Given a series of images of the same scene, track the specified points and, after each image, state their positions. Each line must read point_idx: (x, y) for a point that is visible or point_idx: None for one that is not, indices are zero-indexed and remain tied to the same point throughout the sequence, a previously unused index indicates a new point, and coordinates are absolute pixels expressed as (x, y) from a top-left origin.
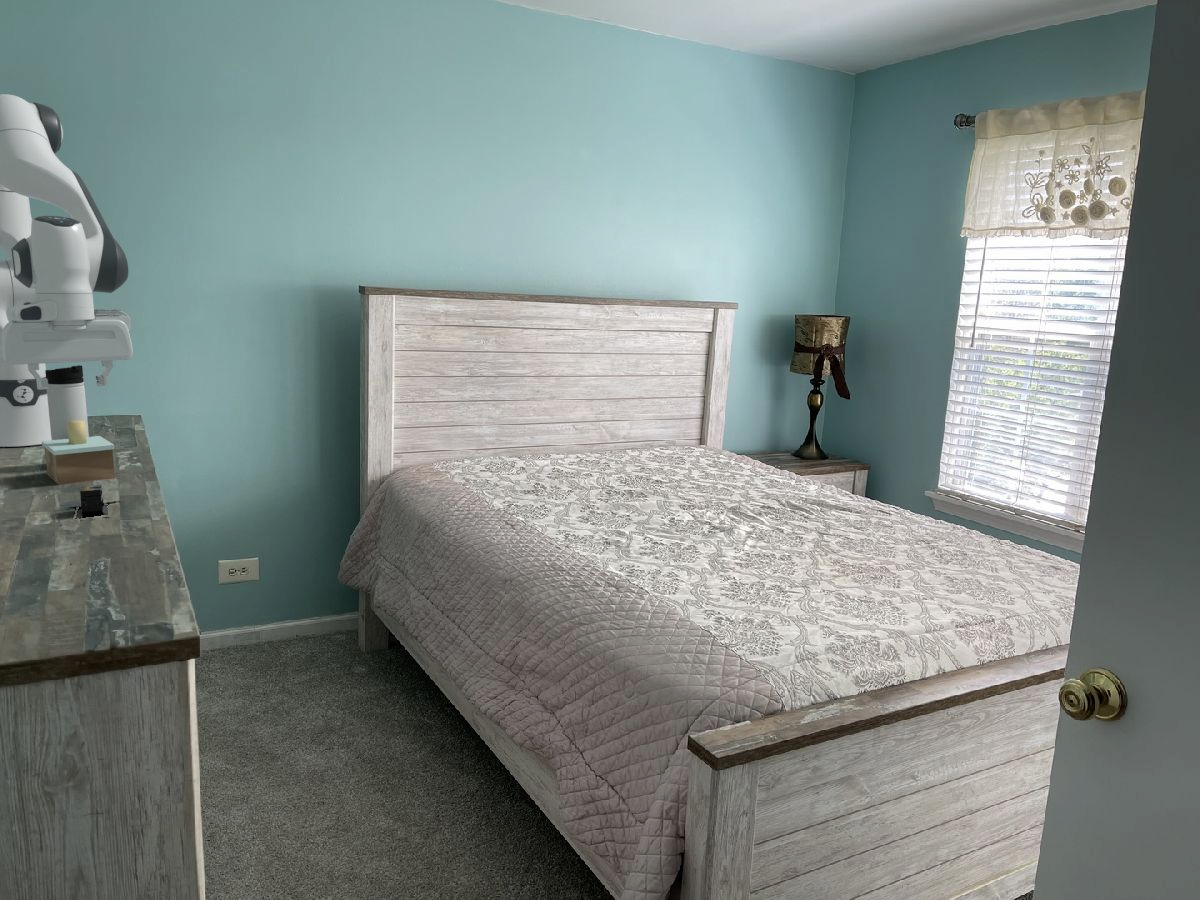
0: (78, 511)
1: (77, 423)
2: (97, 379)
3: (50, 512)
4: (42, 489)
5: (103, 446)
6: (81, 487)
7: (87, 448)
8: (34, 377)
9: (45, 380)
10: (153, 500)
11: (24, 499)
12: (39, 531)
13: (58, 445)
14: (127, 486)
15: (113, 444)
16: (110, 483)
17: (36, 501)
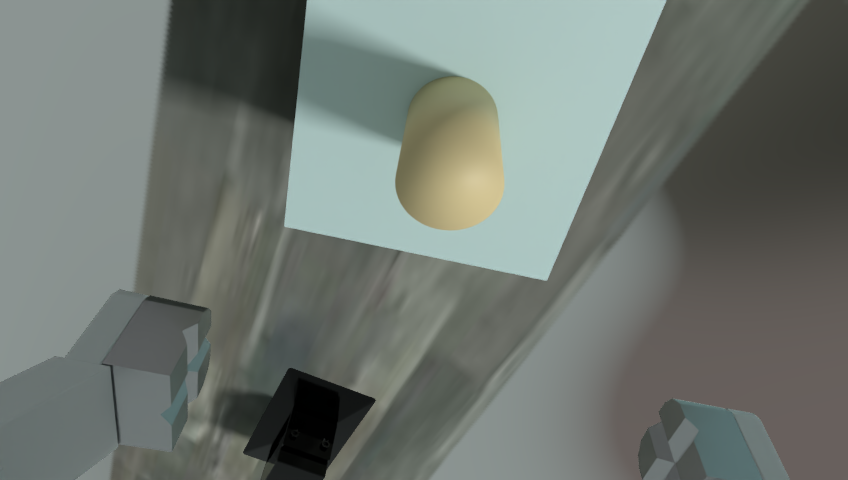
0: (275, 415)
1: (436, 224)
2: (679, 469)
3: (221, 374)
4: (273, 113)
5: (499, 268)
6: (272, 470)
7: (429, 253)
8: (34, 375)
9: (153, 438)
10: (462, 434)
11: (189, 209)
12: (168, 469)
13: (346, 116)
14: (508, 273)
15: (549, 271)
16: None
17: (216, 256)
